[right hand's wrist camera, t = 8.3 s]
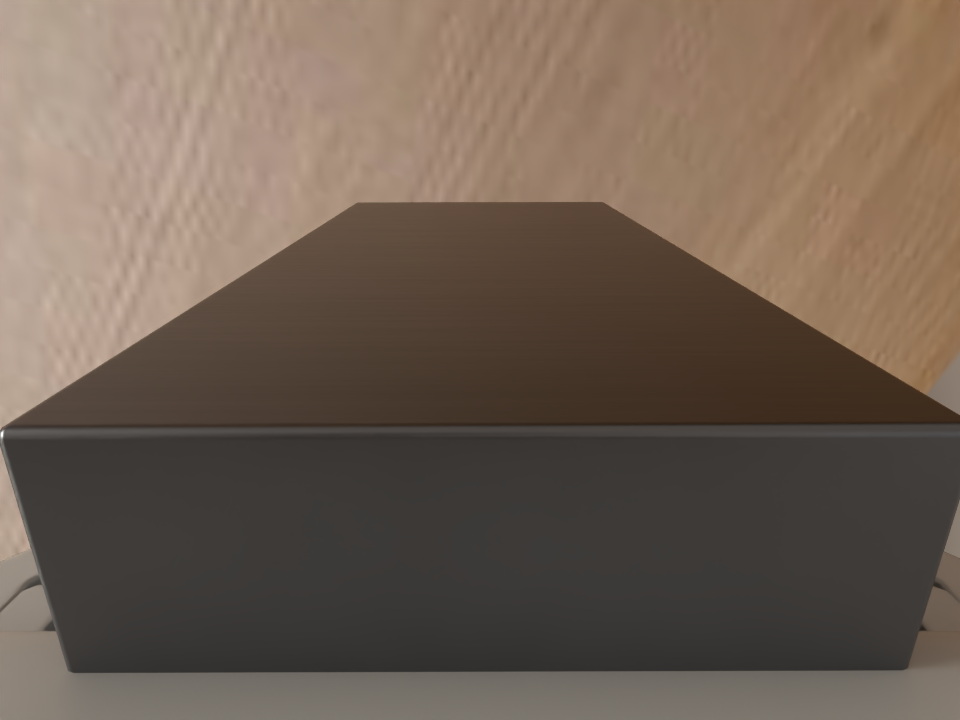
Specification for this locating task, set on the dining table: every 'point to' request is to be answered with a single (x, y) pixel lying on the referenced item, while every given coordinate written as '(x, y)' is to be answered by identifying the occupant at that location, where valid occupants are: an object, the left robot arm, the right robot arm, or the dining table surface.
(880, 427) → the box
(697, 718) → the right robot arm
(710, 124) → the dining table surface
